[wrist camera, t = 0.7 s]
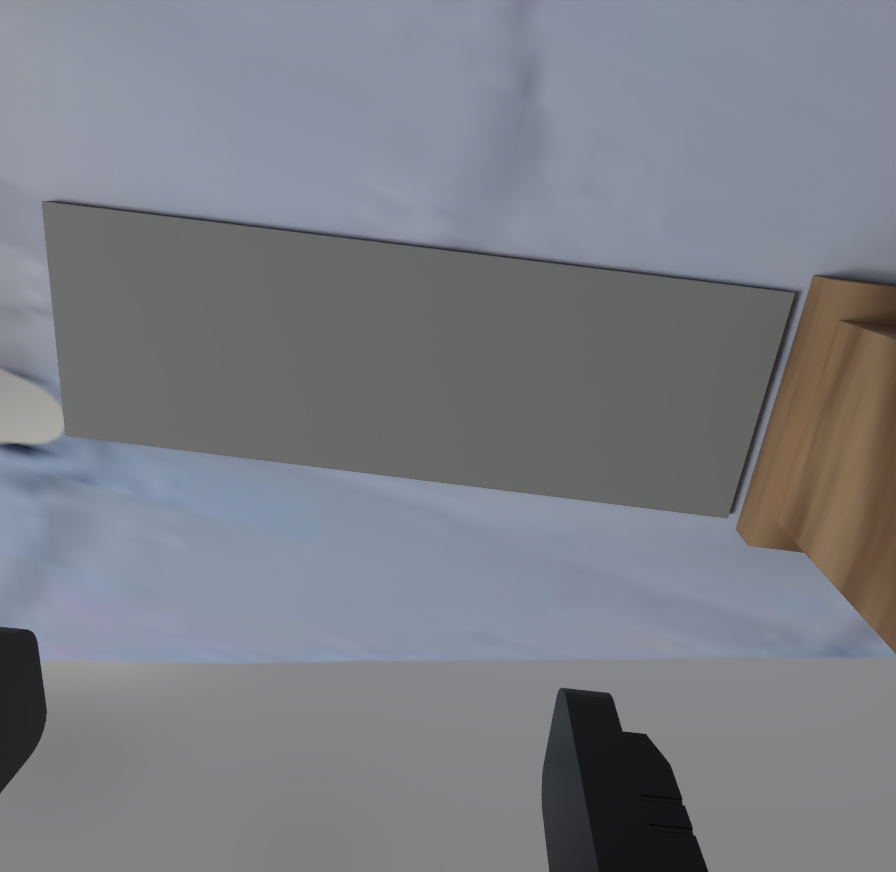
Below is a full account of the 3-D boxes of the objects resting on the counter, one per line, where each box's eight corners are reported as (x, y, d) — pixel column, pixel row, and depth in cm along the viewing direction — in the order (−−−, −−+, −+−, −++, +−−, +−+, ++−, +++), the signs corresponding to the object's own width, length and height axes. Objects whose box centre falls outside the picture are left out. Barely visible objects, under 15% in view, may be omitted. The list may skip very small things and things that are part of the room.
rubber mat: (71, 432, 41) (65, 435, 41) (48, 201, 36) (41, 201, 36) (724, 514, 41) (727, 518, 40) (790, 291, 36) (795, 292, 35)
